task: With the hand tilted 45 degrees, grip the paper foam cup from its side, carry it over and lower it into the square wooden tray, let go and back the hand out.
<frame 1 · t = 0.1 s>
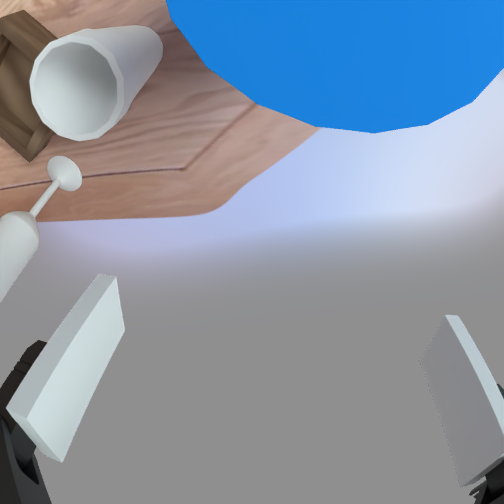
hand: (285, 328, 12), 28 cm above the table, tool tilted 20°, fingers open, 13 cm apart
square wooden tray: (32, 80, 30), on the table
foam cup: (137, 50, 28), on the table
champagne flute: (64, 173, 41), on the table
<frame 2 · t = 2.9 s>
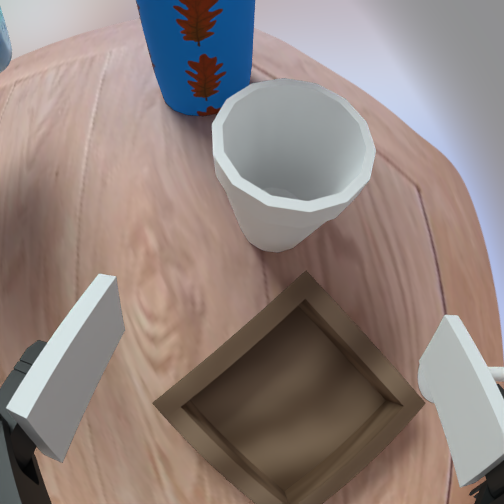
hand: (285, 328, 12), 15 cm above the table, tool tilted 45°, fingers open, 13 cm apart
square wooden tray: (290, 402, 25), on the table
foam cup: (273, 220, 30), on the table
champagne flute: (443, 371, 26), on the table
thermos: (205, 85, 34), on the table
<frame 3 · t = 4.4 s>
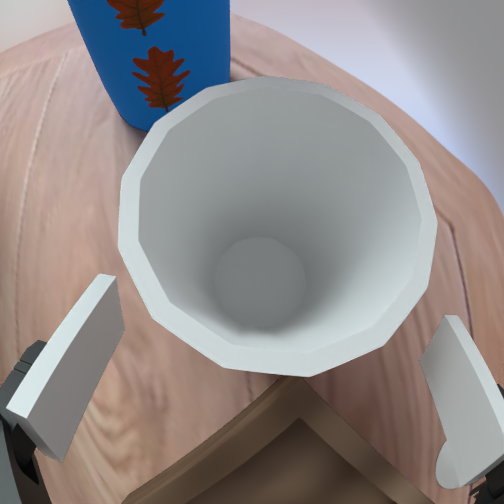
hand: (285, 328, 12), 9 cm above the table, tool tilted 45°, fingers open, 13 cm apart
foam cup: (259, 283, 21), on the table
champagne flute: (465, 454, 18), on the table
thermos: (172, 89, 26), on the table
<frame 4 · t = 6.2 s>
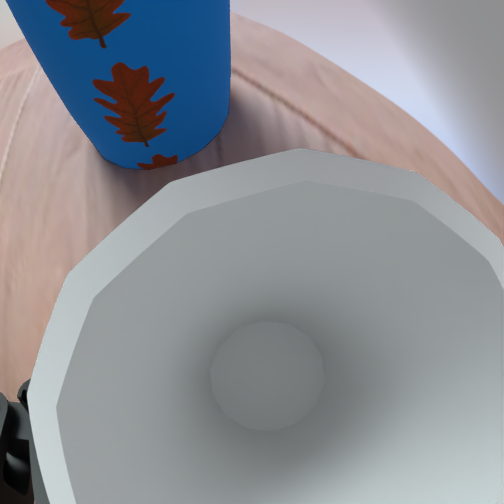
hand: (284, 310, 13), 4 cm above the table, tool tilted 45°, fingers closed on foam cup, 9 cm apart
foam cup: (267, 375, 16), on the table, touching gripper
thermos: (158, 110, 21), on the table
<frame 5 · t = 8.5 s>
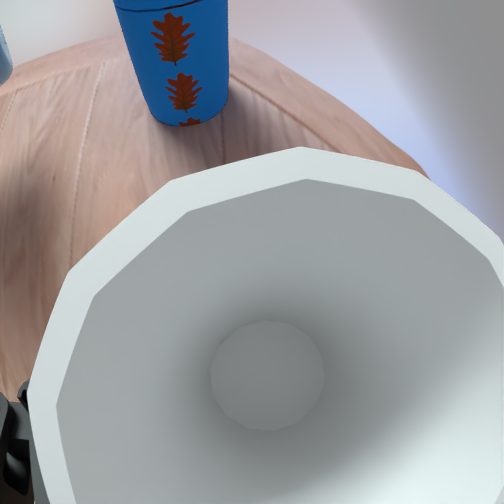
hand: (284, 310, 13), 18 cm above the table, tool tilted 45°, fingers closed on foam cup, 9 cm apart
foam cup: (267, 375, 16), point 13 cm above the table, touching gripper
thermos: (188, 96, 37), on the table
when the fingers open (7 cm above the table, at t = 11.2 s): foam cup drops 1 cm, resting on square wooden tray.
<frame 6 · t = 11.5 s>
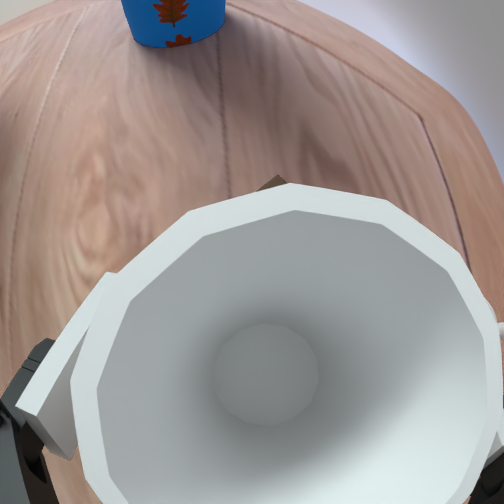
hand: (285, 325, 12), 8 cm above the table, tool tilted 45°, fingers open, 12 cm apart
foam cup: (265, 374, 18), point 1 cm above the table, touching square wooden tray
thermos: (178, 23, 28), on the table
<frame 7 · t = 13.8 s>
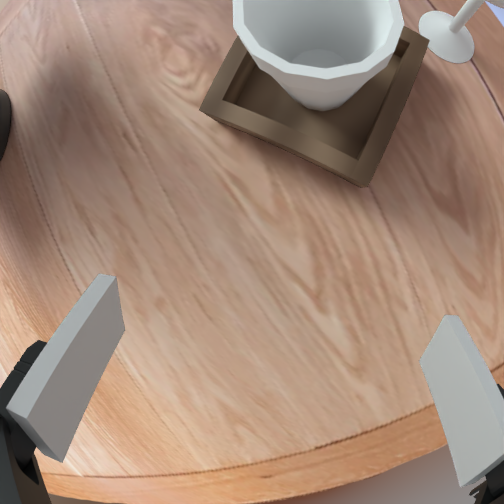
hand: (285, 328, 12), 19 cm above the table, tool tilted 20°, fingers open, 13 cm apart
square wooden tray: (319, 82, 26), on the table
foam cup: (320, 79, 26), point 1 cm above the table, touching square wooden tray
champagne flute: (446, 36, 22), on the table
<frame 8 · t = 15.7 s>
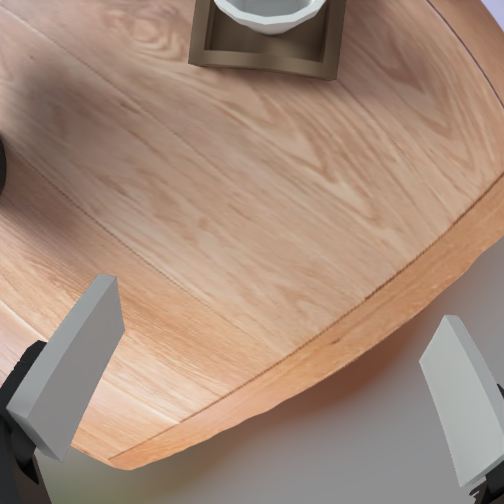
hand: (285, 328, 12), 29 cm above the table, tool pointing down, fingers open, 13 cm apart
square wooden tray: (270, 12, 28), on the table
foam cup: (271, 10, 28), point 1 cm above the table, touching square wooden tray
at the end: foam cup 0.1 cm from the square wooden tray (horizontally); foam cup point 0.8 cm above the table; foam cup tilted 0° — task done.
